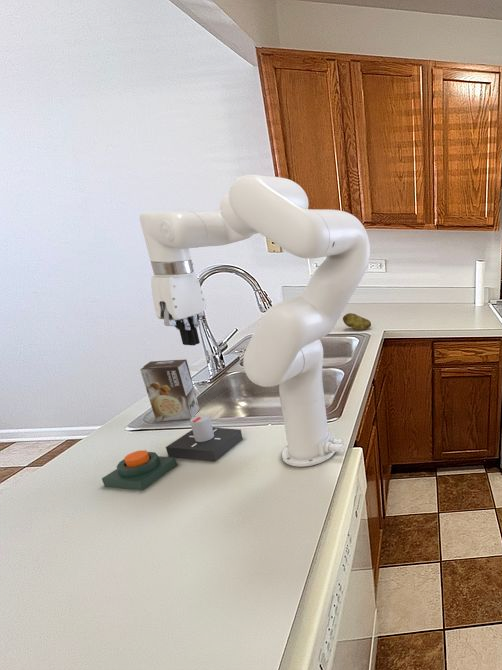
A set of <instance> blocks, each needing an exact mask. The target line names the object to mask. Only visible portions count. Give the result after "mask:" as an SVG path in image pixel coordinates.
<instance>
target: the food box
mask: <svg viewBox="0 0 502 670" xmlns="http://www.w3.org/2000/svg"><path fill="white" fill-rule="evenodd" d="M139 371H140V374H141V377H142V380H143V383H144V387H145V390H146V393H147V396H148V399H149V402H150V406H151V409H152V413H153V415H154V419H155V422H156V423H158V422H159V423H160V422H161V423H162V422H168V421H169V422H171V421H180V420H190V419H191V418H193V417H195V416H197V414H198V412H199V411H200V405H199V402H198V398H197V395H196V390H195V387H194V383H193V379H192V375H191V372H190V368H189V364H188V360H187V359H185V358H184V359H171V360H155V361H152V360H151V361H149V362H147V363H146V364H145V365H144V366H143V367H142V368H140V369H139Z"/></svg>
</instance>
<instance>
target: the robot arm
mask: <svg viewBox="0 0 502 670" xmlns="http://www.w3.org/2000/svg"><path fill="white" fill-rule="evenodd" d="M309 206H310V205H309V198H308V196H307V193H306V191H305V190H304V188H302V186H300V184H298V183H297V182H295V181H293V180H292V179H289V178H286V177H281V176H272V175H263V174H253V173H251V174H249V173H248V174H244V175H242V176H239V177H237V178H236V179H235V180H234V181H233V182H232V183H231V185H230V188H229V191H228V193H226V194H225V195H224V196H223V197H222V198H221V200H220V205H219V208H220V209H219V210H213V211H205V210H204V211H203V210H202V211H201V210H200V211H199V210H198V211H197V210H196V211H195V210H193V211H192V210H191V211H190V210H189V211H180V210H179V211H176V210H175V211H163V210H161V211H160V210H150V211H149V210H147V211H143V212H141V213H140V215H139V220H140V221H139V222H140V226H141V230H142V233H143V237H144V241H145V244H146V245H145V246H146V249H147V253H148V257H149V260H150V264H151V268H152V273H153V276H151V295H152V301H153V306H154V312H155V315H156V317H157V318H158V319H159V320H163V324H164V326H166V327H174V328H175V329H176V330H178V331H179V334H180V339H181V342H182V345H183V346H196V345H199V344H200V343H201V341H200V337H199V333H198V328H199V320H200V319H201V318H203V317H204V316H205V311H206V301H205V296H204V292H203V290H202V286H201V284H200V281H199V277H198V276H197V274H196V272H195V268H194V263H193V261H192V256H191V251H190V249H197V248H206V247H219V246H226V245H230V244H234V243H238V242H241V241H244V240H247V239H250V238H251V237H253V236H254V235H257V234H260V235H261V236H263V237H265V238H266V239H267V240H269V241H271V242H272V243H274V244H275V245H277V246H278V247H279V248H281V249H282V250H284V251H286V252H287V253H290V254H291V255H293V256H294V257H297V258H301V259H308V260H309V259H311V260H312V259H319V258H325V259H324V260H323V261H322V263H320V265H319V266H317V268H316V269H315V270H314V271H313V273H312V275H311V277H310V279H309V281H308V283H307V285H306V286H305V288H304V289H303V291H302V292H301V293H300V294H299V295H298V296H296V297H293V298H290V299H286V300H284V301H283V300H282V301H280V302H278V303H275V304H273V305H272V306H270V307H269V308H268V309H267V310H266V311H265V312H264V313H263V314H262V316H261V317H260V319H259V321H258V323H257V324H256V327H255V329H254V331H253V334H252V336H251V337H250V340H249V342H248V344H247V345H246V349H245V351H244V354H243V360H242V361H243V362H242V363H243V364H242V365H243V371H244V373H245V375H246V377H247V378H248V379H249V381H250V382H252V383H253V384H255V385H256V386H259V387H263V388H273V387H276V386H278V393H279V401H280V407H281V414H282V419H283V426H284V432H285V438H286V442H287V445H285V447H284V448H283V449H282V452H281V457H282V460H283V462H284V463H285V464H287V465H289V466H292V467H296V468H297V467H298V468H299V467H300V468H301V467H302V468H304V467H311V466H316V465H319V464H321V463H323V462H325V461H327V460H329V459H330V458H332V456H334V455H335V453H336V452H337V453H343V452H344V451H345V444H344V439H342V438H341V439H340V438H337V439H336V438H335V437H334V433H333V432H332V431H329V425H328V417H327V408H326V403H325V402H326V401H325V393H324V392H325V391H324V383H323V381H324V380H323V365H324V346H323V343H322V341H321V339H323V338H324V337H326V336H328V335H329V334H330V333H331V332H332V331H333V330H334V328H335V326H336V324H337V323H338V321H339V319H340V318H341V315H342V314H343V313H344V310H345V309H346V307H347V305H348V304H349V302H350V300H351V298H352V296H353V294H354V292H355V291H356V289H357V288H358V286H359V285H360V283H361V281H362V280H363V278H364V276H365V274H366V272H367V269H368V267H369V263H370V258H371V242H370V237H369V235H368V232H367V231H366V228H365V226H364V225H363V223H362V222H361V221H360V220H359V219H358V217H357V216H354V214H352V213H350V212H347V211H344V210H339V209H329V208H327V209H320V208H319V209H317V208H316V209H314V208H313V209H312V208H309Z"/></svg>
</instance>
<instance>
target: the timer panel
mask: <svg viewBox="0 0 502 670" xmlns="http://www.w3.org/2000/svg"><path fill="white" fill-rule="evenodd" d="M212 428H213V432H214V437H213V438H212V439H210V440H208V441H204V442H197V441H195V438H194V434H193V430H192V429H191V430H189V431H188V432H186V433H185V434H184V435H181V436H180V437H179V438H177V439H176V440H174V441H173V442H171V443H170V444H168V445H167V446H165V449H166V453H167V457H173V458H175V459H180V460H181V459H182V460H192V461H194V460H195V461H202V462H203V461H204V462H213V463H214V462H217V461H218V460H219V459H221V458H222V457H223V456H225V455H226V454H227V453H228V452H229V451H230V450H232V449H233V448H235V446H237V445H238V444H239V443H240V442H242V441H243V433H242V429H238V428H237V429H236V428H227V427H216V426H215V427H214V426H212Z"/></svg>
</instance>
